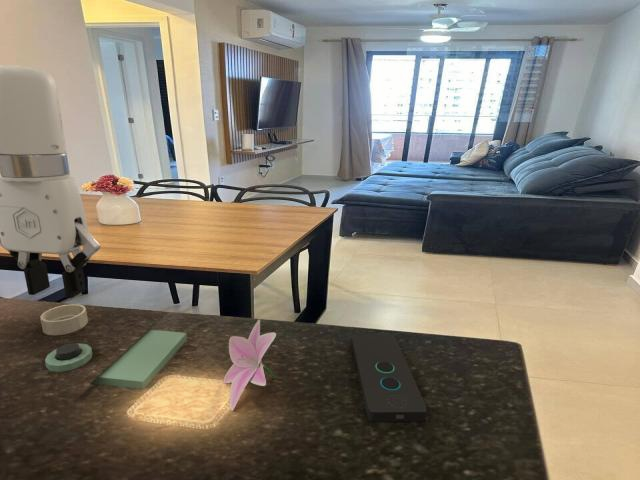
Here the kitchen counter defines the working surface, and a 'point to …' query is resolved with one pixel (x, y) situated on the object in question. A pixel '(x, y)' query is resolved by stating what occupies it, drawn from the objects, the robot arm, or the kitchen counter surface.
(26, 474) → the kitchen counter surface
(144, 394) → the kitchen counter surface
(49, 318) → the bowl
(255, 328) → the lily
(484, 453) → the kitchen counter surface
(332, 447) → the kitchen counter surface
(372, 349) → the smart home device
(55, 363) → the mint green pieces
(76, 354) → the dark grey puck
